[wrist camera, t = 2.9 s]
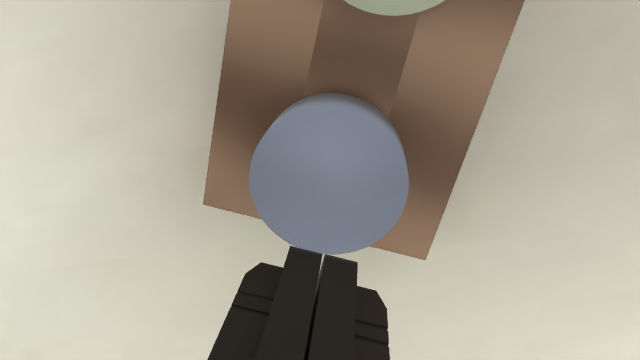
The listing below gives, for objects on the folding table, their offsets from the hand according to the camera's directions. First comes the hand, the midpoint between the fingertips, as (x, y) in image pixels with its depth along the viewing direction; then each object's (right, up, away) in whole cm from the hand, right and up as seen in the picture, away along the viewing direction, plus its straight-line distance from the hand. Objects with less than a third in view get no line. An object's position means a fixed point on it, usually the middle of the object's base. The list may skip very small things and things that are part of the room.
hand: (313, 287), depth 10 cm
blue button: (+1, +4, +9) cm, 10 cm away
